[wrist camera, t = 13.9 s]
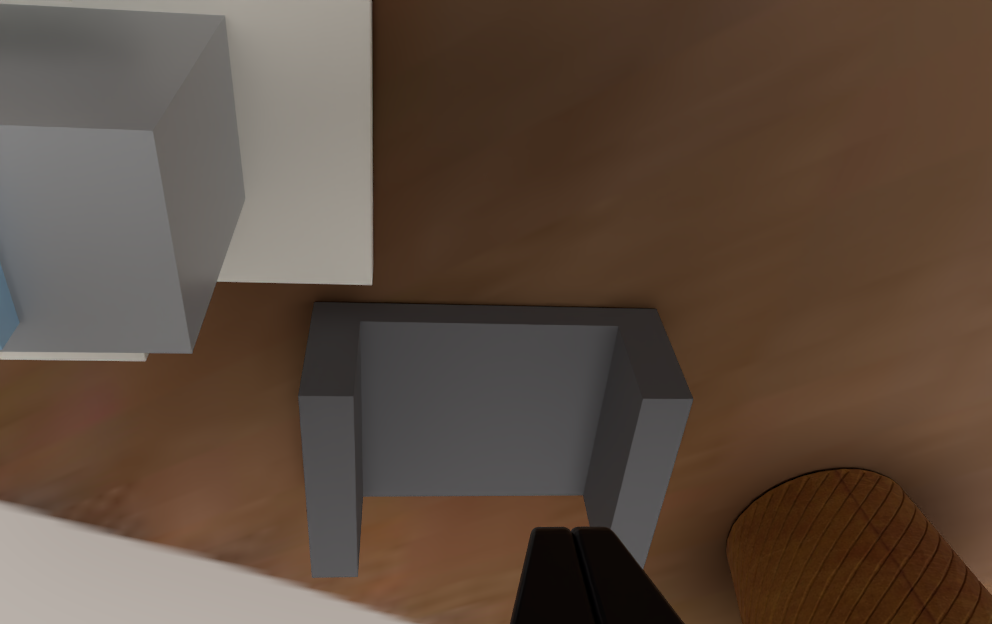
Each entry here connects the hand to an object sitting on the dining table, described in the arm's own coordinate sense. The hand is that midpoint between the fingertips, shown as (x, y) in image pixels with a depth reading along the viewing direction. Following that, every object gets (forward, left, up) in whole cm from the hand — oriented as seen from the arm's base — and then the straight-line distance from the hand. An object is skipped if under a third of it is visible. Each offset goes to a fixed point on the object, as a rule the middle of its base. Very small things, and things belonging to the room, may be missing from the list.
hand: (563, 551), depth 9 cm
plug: (+8, 0, -11) cm, 14 cm away
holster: (-1, +8, -12) cm, 15 cm away
